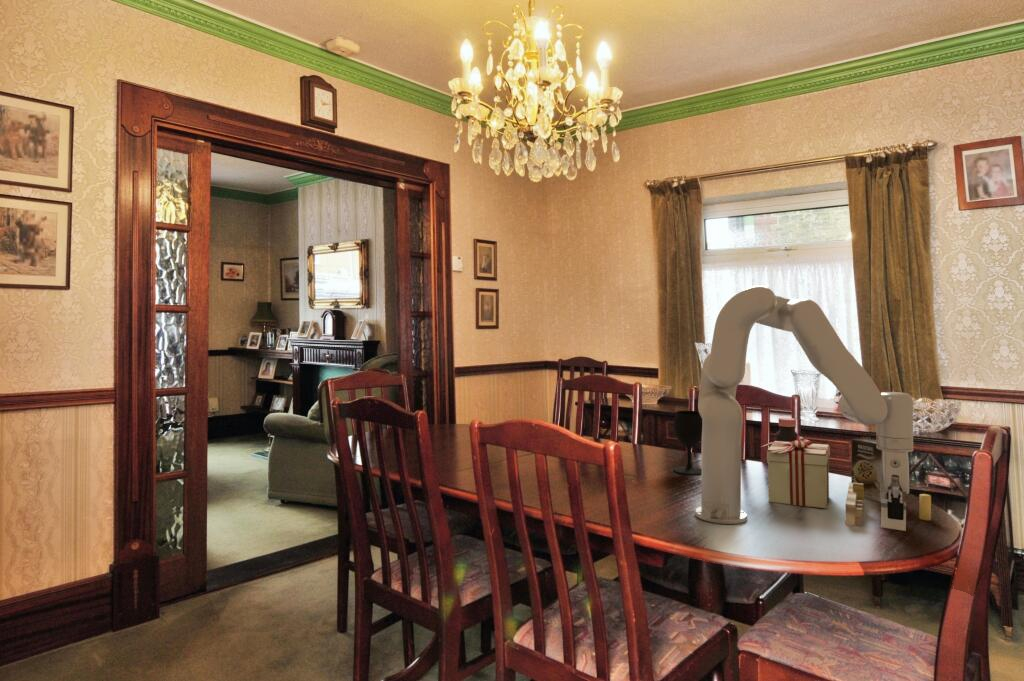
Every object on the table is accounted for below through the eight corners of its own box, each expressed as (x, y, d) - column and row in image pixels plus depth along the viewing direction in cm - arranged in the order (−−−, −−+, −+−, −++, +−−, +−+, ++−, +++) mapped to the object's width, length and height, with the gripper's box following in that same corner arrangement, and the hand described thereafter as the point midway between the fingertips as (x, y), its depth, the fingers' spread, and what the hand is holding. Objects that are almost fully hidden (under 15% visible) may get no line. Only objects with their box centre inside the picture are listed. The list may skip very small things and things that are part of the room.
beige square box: (906, 531, 143) (906, 505, 143) (880, 527, 145) (881, 502, 145) (905, 526, 146) (905, 501, 146) (880, 522, 149) (881, 498, 149)
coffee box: (850, 494, 174) (850, 439, 174) (865, 491, 177) (865, 437, 176) (880, 502, 166) (880, 444, 165) (895, 500, 168) (896, 442, 168)
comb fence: (861, 526, 146) (862, 497, 146) (845, 524, 148) (845, 495, 147) (863, 502, 166) (864, 476, 166) (849, 500, 168) (849, 475, 168)
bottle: (794, 480, 190) (794, 417, 190) (802, 485, 184) (802, 420, 183) (771, 479, 191) (772, 417, 191) (779, 485, 184) (779, 420, 184)
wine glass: (679, 466, 209) (679, 409, 209) (709, 470, 203) (709, 411, 203) (668, 472, 201) (668, 412, 201) (699, 476, 195) (699, 415, 194)
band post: (931, 520, 150) (931, 497, 150) (919, 519, 151) (919, 495, 151) (930, 518, 152) (930, 494, 152) (919, 516, 153) (919, 493, 153)
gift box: (760, 488, 181) (760, 431, 180) (829, 495, 173) (829, 436, 172) (756, 503, 165) (756, 441, 165) (831, 512, 157) (832, 446, 157)
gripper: (915, 451, 136) (915, 526, 136) (911, 438, 151) (911, 506, 151) (876, 448, 140) (876, 521, 140) (876, 436, 155) (876, 502, 155)
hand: (895, 513), depth 146 cm, fingers open, 9 cm apart
